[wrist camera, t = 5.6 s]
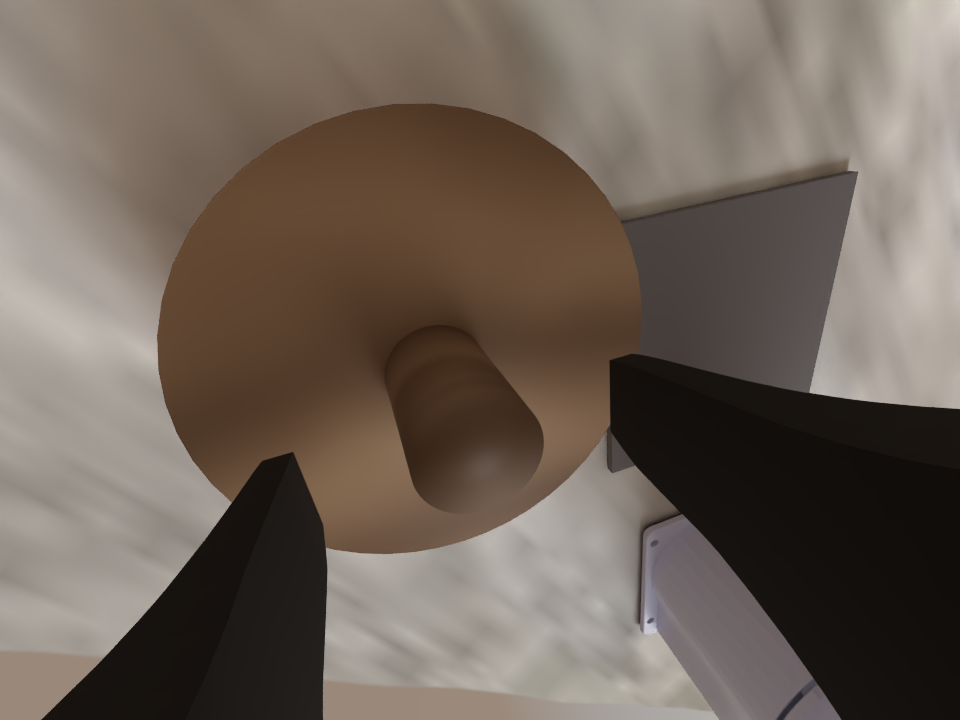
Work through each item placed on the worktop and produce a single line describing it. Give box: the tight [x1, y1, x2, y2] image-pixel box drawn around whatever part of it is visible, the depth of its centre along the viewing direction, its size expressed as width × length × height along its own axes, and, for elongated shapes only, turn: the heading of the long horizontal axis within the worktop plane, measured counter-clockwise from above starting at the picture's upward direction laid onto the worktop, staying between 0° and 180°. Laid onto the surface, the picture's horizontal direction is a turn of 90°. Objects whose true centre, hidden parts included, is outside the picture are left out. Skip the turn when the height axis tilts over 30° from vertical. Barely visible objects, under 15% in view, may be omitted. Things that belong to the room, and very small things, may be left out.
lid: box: [157, 104, 641, 554], centre depth 11 cm, size 13×13×5 cm
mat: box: [607, 171, 858, 473], centre depth 21 cm, size 12×12×1 cm
